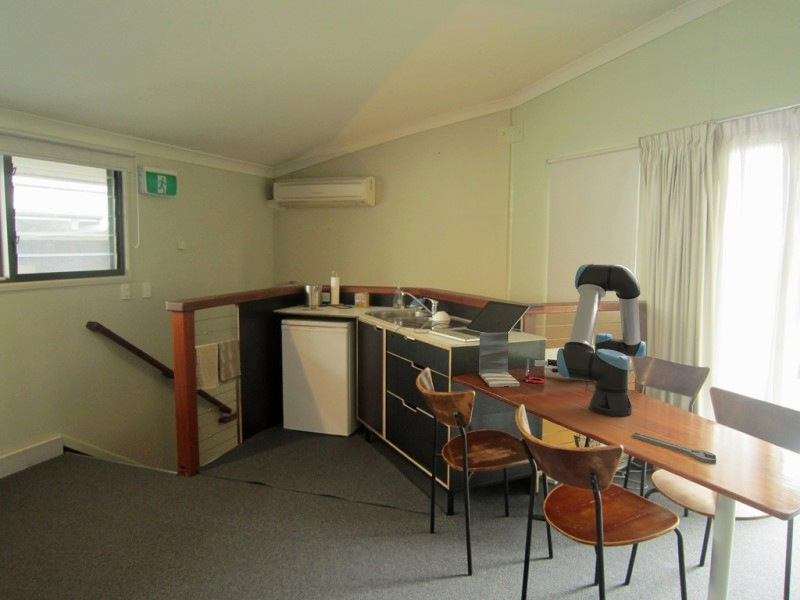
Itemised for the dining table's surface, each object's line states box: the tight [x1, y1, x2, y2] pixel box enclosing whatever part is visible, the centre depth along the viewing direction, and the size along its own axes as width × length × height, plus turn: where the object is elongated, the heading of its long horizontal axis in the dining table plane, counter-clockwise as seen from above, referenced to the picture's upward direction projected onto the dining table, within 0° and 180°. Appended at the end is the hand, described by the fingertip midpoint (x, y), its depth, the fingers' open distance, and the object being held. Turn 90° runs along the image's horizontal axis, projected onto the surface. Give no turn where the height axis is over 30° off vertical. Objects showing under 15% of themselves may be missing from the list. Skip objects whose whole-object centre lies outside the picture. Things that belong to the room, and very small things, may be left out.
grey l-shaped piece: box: [478, 331, 521, 388], centre depth 227 cm, size 22×14×22 cm, turn 3°
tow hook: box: [524, 354, 546, 384], centre depth 225 cm, size 8×13×9 cm
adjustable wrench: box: [632, 432, 717, 465], centre depth 149 cm, size 25×6×2 cm, turn 31°
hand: (539, 366), depth 226 cm, fingers open, 13 cm apart
